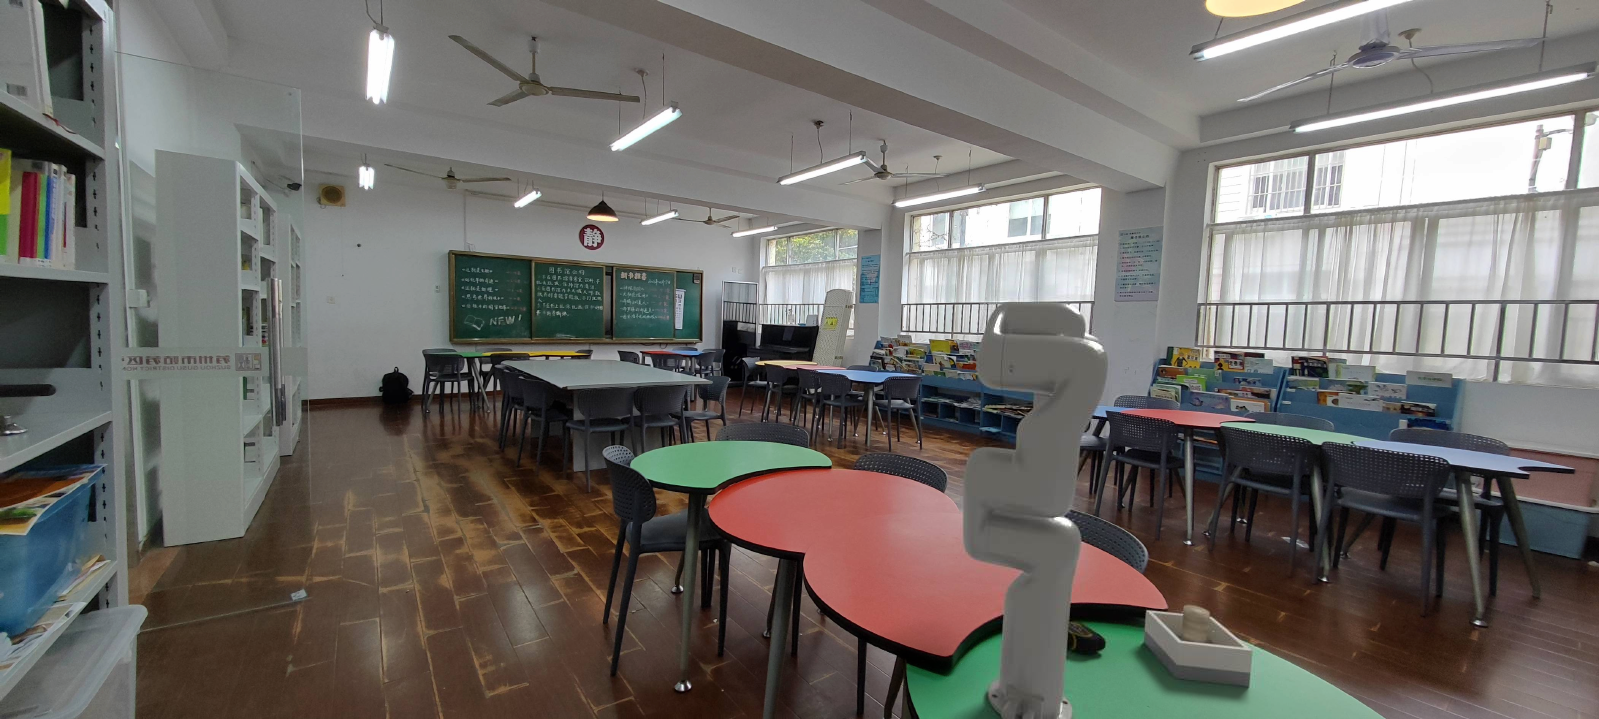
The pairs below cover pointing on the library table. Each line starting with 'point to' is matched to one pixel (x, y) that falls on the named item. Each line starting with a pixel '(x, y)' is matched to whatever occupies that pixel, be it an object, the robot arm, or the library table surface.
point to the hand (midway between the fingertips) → (1046, 482)
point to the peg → (1195, 624)
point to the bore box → (1198, 651)
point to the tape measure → (1084, 639)
